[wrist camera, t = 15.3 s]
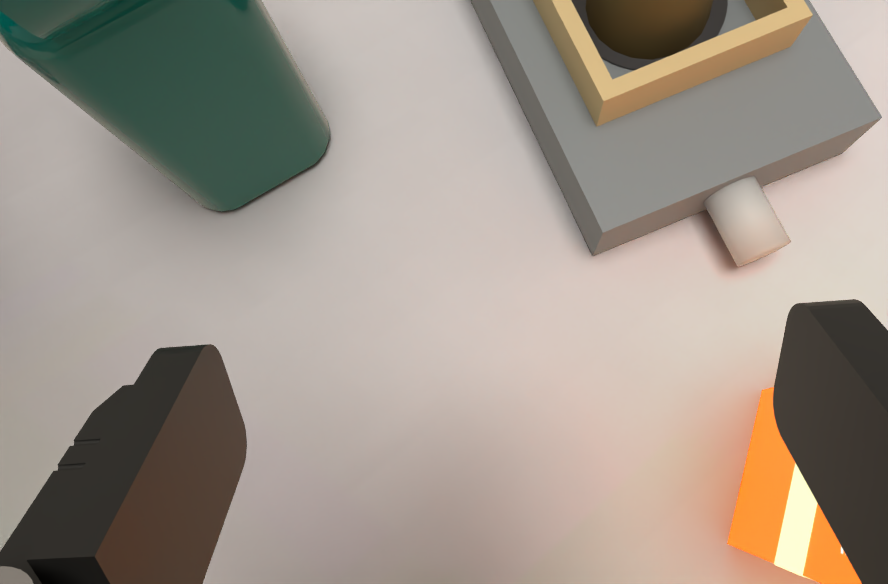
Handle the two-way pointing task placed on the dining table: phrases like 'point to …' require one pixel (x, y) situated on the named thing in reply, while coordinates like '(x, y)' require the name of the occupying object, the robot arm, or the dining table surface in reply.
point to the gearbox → (680, 115)
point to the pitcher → (180, 86)
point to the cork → (648, 25)
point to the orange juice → (784, 510)
